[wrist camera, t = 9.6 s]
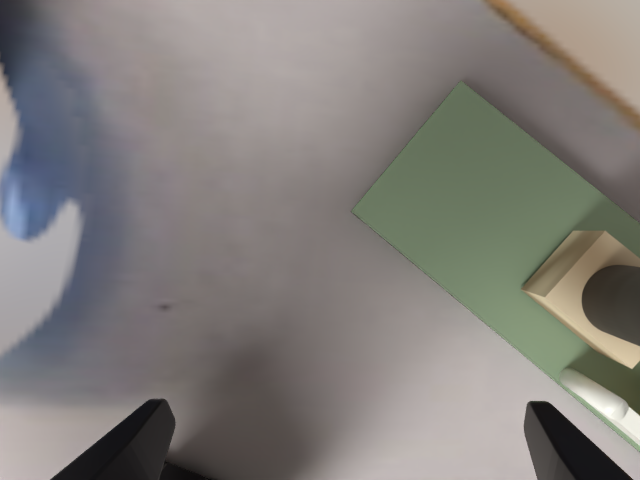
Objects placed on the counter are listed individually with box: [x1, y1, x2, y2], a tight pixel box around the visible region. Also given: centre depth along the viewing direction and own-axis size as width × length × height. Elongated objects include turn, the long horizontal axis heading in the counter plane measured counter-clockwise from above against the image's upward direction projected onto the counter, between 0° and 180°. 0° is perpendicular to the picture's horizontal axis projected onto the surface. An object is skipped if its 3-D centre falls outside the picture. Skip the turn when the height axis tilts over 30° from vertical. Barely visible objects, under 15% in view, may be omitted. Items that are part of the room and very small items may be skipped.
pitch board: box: [351, 81, 640, 452], centre depth 20 cm, size 9×22×1 cm, turn 50°
